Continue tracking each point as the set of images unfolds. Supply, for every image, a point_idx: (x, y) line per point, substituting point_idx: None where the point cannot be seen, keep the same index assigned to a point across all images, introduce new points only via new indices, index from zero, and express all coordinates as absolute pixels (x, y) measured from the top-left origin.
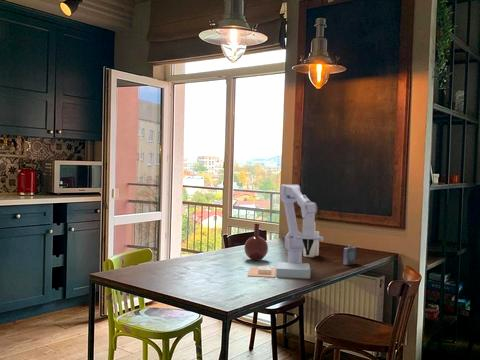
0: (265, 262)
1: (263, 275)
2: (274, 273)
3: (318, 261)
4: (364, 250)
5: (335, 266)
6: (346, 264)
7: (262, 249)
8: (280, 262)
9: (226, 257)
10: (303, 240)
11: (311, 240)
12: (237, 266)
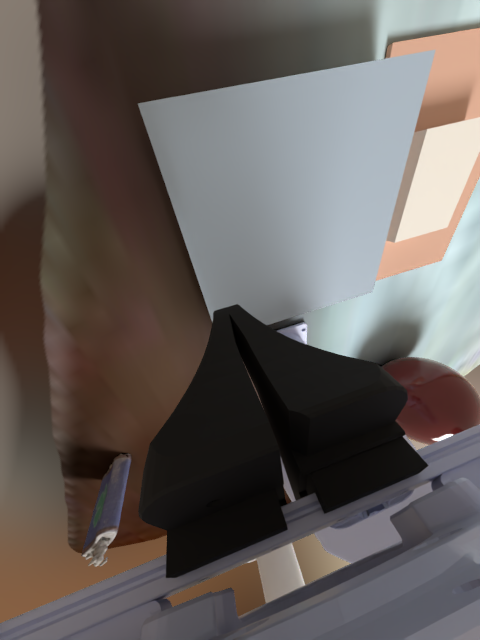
0: (364, 358)
1: (456, 60)
2: None
3: None
4: (149, 536)
5: (143, 428)
6: (116, 457)
7: (413, 388)
8: (358, 291)
9: (449, 353)
10: (389, 439)
11: (218, 520)
12: (472, 263)
